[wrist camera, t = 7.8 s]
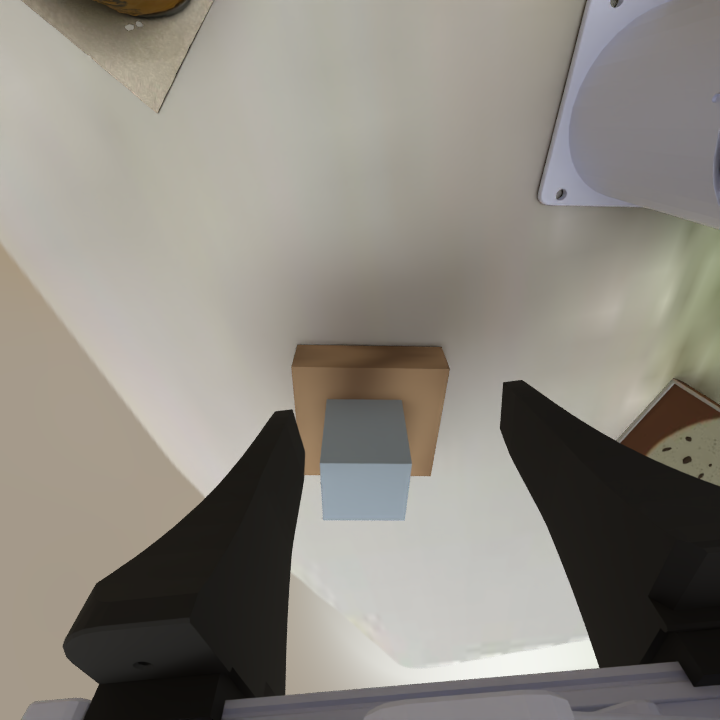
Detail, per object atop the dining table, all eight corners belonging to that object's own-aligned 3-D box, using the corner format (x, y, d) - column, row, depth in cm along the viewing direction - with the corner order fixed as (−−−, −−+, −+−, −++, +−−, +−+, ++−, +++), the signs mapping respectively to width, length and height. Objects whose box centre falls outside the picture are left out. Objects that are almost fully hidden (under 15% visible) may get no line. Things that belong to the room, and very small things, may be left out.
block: (401, 399, 23) (411, 463, 18) (396, 452, 25) (404, 520, 21) (326, 399, 22) (319, 463, 18) (328, 452, 25) (323, 520, 21)
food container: (641, 496, 31) (745, 633, 23) (577, 482, 30) (662, 621, 22) (764, 381, 25) (970, 513, 17) (689, 360, 24) (868, 488, 16)
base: (441, 346, 23) (449, 369, 21) (425, 449, 28) (430, 476, 26) (297, 344, 23) (291, 366, 21) (305, 448, 28) (301, 474, 26)
